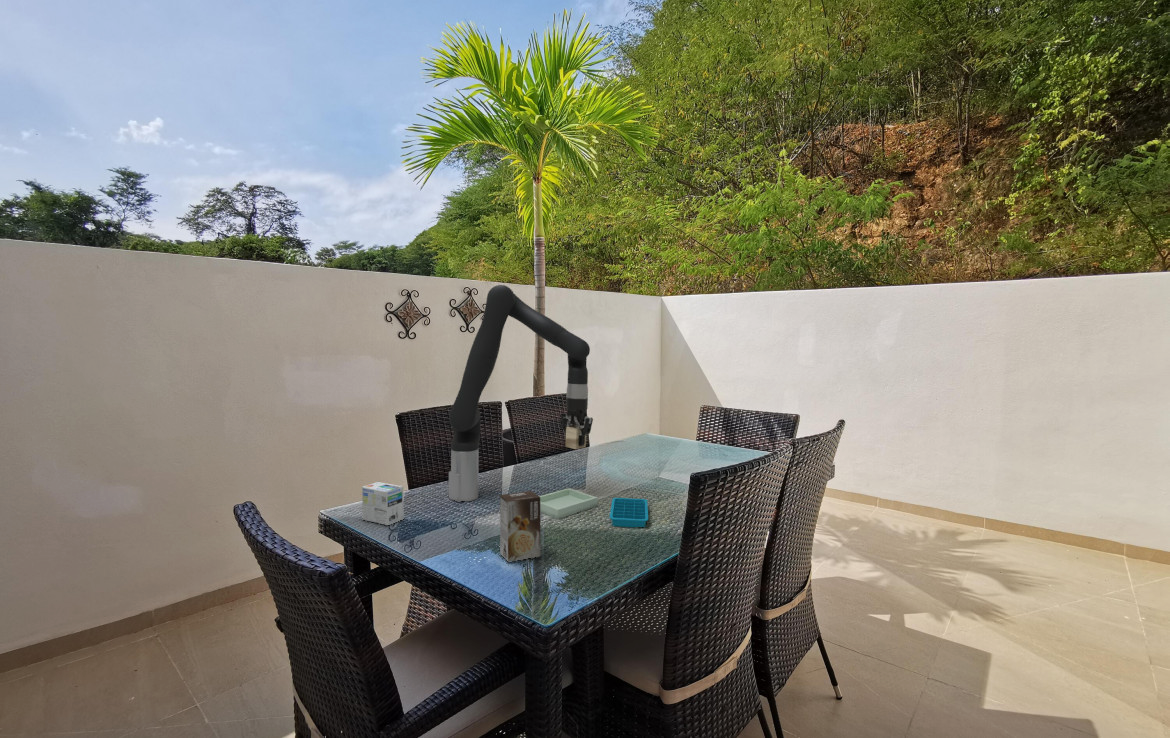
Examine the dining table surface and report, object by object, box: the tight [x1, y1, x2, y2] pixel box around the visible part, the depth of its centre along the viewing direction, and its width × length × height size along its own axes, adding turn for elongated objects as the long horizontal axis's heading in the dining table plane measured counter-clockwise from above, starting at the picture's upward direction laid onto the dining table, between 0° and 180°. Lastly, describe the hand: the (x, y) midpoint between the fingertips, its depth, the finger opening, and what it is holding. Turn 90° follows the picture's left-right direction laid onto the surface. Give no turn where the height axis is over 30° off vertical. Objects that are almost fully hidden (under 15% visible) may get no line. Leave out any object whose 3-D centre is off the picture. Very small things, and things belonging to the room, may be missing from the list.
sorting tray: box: [538, 487, 599, 520], centre depth 176 cm, size 18×14×3 cm
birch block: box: [565, 426, 587, 450], centre depth 186 cm, size 5×5×7 cm
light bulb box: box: [361, 481, 405, 526], centre depth 160 cm, size 11×7×11 cm, turn 65°
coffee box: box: [499, 490, 542, 562], centre depth 137 cm, size 9×6×16 cm
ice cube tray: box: [609, 497, 649, 528], centre depth 168 cm, size 12×20×3 cm, turn 174°
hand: (575, 444), depth 186 cm, fingers closed on birch block, 5 cm apart
